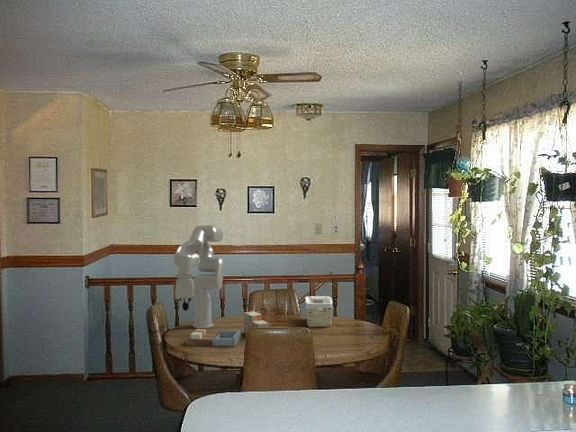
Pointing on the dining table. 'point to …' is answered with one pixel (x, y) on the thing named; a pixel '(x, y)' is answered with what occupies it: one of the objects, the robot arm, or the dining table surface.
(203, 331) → the peach block
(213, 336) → the walnut board
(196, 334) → the cream tile
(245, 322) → the stack of blocks
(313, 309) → the storage basket
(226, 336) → the tray
